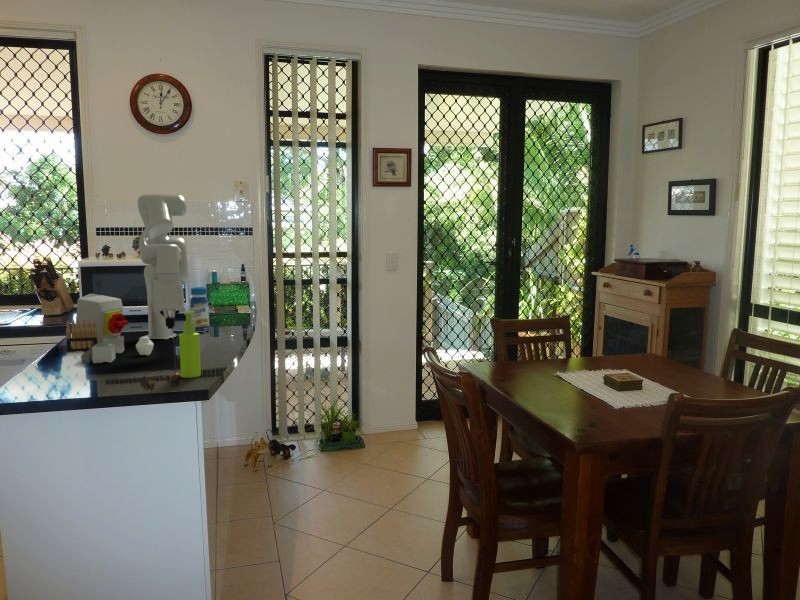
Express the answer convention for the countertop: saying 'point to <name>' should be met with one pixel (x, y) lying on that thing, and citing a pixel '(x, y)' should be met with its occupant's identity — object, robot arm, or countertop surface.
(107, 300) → the electrical switch box
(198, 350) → the soap dispenser
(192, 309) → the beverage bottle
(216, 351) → the countertop surface
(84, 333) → the ammunition clip
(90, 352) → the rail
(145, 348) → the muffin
